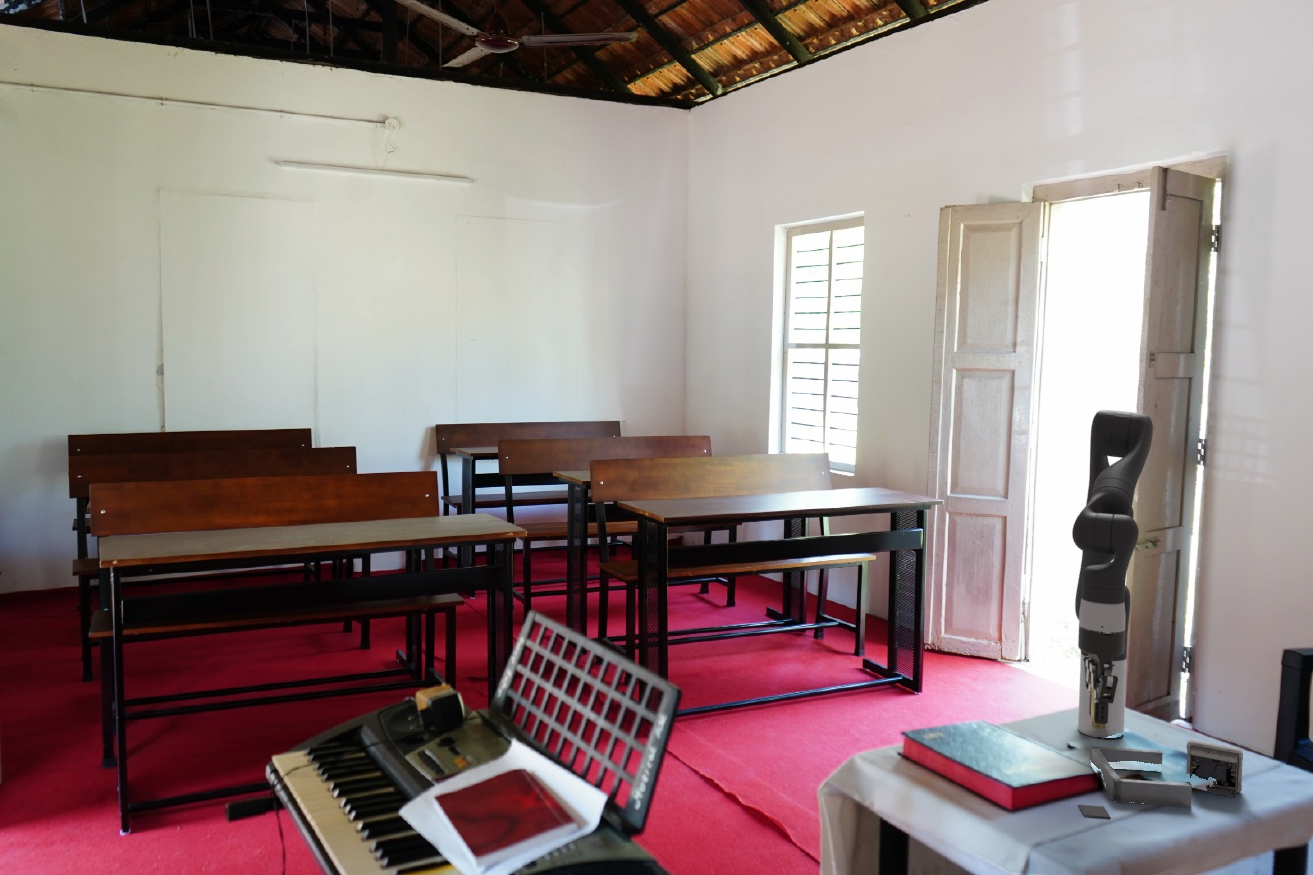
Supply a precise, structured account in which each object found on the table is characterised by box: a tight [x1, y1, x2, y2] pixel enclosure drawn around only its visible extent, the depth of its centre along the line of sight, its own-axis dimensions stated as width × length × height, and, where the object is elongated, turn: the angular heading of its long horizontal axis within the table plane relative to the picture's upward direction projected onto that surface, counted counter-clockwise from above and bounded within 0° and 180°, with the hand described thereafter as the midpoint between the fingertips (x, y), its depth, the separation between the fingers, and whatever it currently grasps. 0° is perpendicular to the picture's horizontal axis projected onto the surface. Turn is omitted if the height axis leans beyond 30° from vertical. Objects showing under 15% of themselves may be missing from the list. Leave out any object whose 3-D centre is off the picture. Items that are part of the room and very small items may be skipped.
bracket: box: [1089, 745, 1193, 808], centre depth 193 cm, size 17×13×4 cm
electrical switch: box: [1185, 739, 1244, 798], centre depth 190 cm, size 9×5×9 cm, turn 57°
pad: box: [1078, 804, 1111, 820], centre depth 181 cm, size 4×4×1 cm
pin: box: [1090, 688, 1106, 729], centre depth 180 cm, size 3×3×7 cm
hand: (1098, 719), depth 180 cm, fingers closed on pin, 2 cm apart
